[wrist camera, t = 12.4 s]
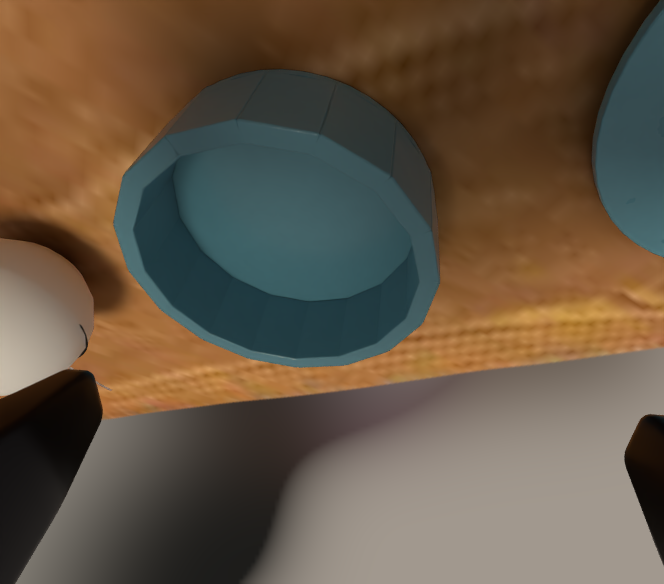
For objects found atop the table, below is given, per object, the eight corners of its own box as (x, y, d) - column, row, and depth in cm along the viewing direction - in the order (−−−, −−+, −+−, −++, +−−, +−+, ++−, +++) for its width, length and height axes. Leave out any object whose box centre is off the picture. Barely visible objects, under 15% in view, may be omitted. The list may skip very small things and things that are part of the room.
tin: (499, 180, 16) (515, 249, 13) (345, 332, 24) (335, 395, 21) (206, -9, 13) (151, 33, 10) (139, 237, 21) (97, 296, 18)
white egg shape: (-57, 221, 22) (-199, 336, 17) (51, 192, 19) (-77, 316, 14) (81, 342, 28) (8, 451, 23) (174, 332, 26) (116, 450, 21)
